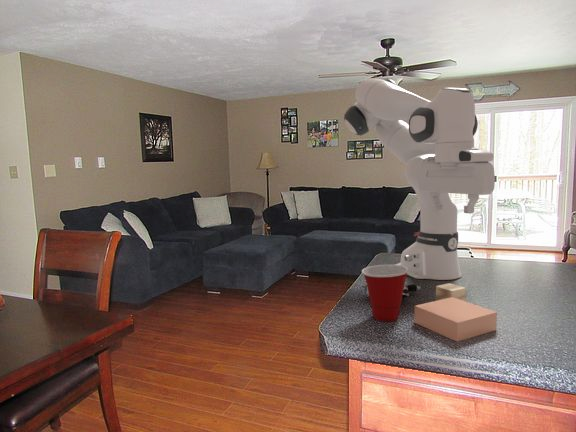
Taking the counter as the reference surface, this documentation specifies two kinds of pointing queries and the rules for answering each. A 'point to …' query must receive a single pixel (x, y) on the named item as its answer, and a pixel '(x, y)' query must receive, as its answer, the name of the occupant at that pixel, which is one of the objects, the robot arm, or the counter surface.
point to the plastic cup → (385, 290)
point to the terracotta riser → (455, 318)
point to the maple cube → (450, 292)
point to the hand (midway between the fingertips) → (452, 211)
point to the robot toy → (405, 291)
